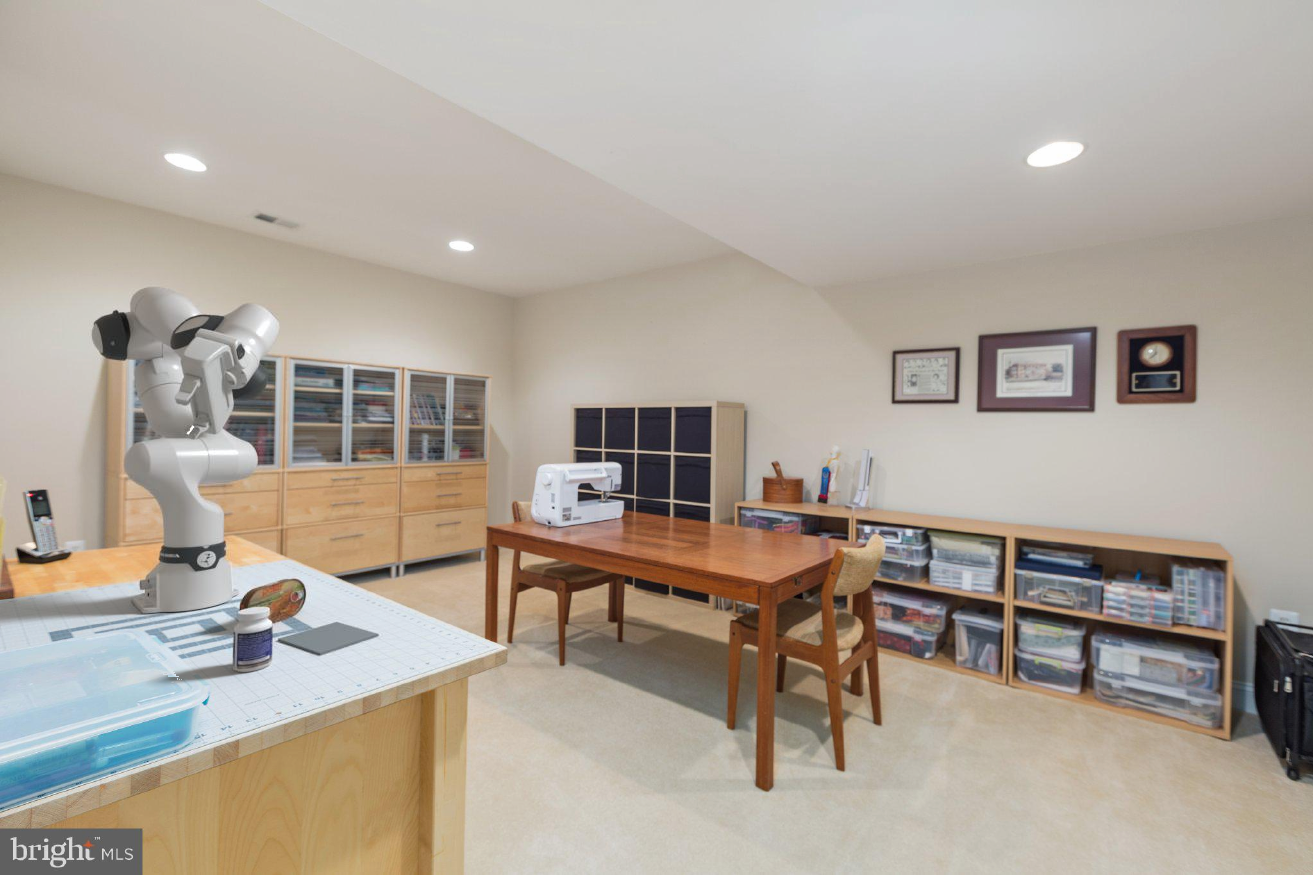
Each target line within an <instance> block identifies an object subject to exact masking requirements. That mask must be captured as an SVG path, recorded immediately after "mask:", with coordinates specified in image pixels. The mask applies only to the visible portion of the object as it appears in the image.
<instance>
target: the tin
mask: <svg viewBox="0 0 1313 875" xmlns="http://www.w3.org/2000/svg"><path fill="white" fill-rule="evenodd" d="M306 598H307V590H306V586H305V584H304V582H303V581H301V580H300V579H298V578H283V579H280V580H277V581H274V582H270V583H267V584H264V585H261V586H258V587H254V588H252V589H250V590H248V591H247V592H246V593H245V594H244V596H243V597H242V598H241V600H240V602H239V607H238V608H239V610H238V612H239V611H241V610H243V609H247V608H253V607H268V608H270V615H269V616H268V619H269V620H271V621H272V623H273V625H274V624H277V623H279V622H282V621H284V620H287V619H289V617H290V618H291V617H294V616H296V615H297V614H298V613H299V612H300V611H301V610H302V609H303V607H304V605H305V602H306ZM276 622H277V623H276Z"/></svg>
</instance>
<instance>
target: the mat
mask: <svg viewBox="0 0 1313 875" xmlns="http://www.w3.org/2000/svg"><path fill="white" fill-rule="evenodd" d="M376 637H379V633H376V632H373V631H369V630H367V629H364V628H359V627H356V626H352V625H349V624H347V623H342V622H339V621H335V622H331V623H327V624H324V625H321V626H317V627H314V628H311V629H307V630H303V631H300V632H296V633H293V634H289V635H286V636H283V637H280V638H277V641H278V642H280V643H282V644H283V643H284V644H287V645H289V646H292V647H296V648H299V649H301V650H304V651H307V652H309V653H313V654H316V655H319V656H323V655H325V654H328V653H332V652H334V651H335V652H336V651H337V649H338V650H340V649H343V648H346V647H347V648H348V647H349V645H350V646H353V645H356V644H359V643H361V642H364V641H367V640H370V639H374V638H376Z"/></svg>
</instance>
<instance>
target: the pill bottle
mask: <svg viewBox="0 0 1313 875" xmlns="http://www.w3.org/2000/svg"><path fill="white" fill-rule="evenodd" d="M236 613H237V615H236V619H237V620H238V623H237V624H236V625H234V628H233V633H232V635H233V636H232V637H233V638H232V670H233V671H235V672H238V673H248V672H249V673H251V672H255V671H260V670H262V669H265V668H267V667H268V666H269V665H271V664H272V661H273V638H274V635H273V632H274V631H273V630H274V627H273V625H274V624H273V623H272V621H271V620H269V619H268V616H269V615H270V608H268V607H253V608H247V609H243V610H241V611H239V610H238V611H237V612H236Z"/></svg>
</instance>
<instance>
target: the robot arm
mask: <svg viewBox="0 0 1313 875" xmlns="http://www.w3.org/2000/svg"><path fill="white" fill-rule="evenodd" d="M129 305H130V306H129V307H130V310H129V311H127V312H124V311H120V312H119V311H118V309H115V310H113V311H112V313H109V314H105V315H102V316H100V317H99V318H97V319H95V321H94V322H93V326H92V330H91V340H92V342H93V345H94V346H95V348H96V350H98V352H99V354H100V355H101V356H102V357H104V358H105V359H108V360H112V361H113V360H114V361H123V362H126V360H127V361H129V360H131V361H140V362H139V363H138V364H137V365H136V366H135V368H134V371H133V372H134V373H133V374H134V385H135V390H136V394H137V398H138V401H139V403H140V406H141V408H142V411H143V414H144V415H145V418H146V421H147V423H148V426H149V428H150V429H151V430H152V432H154V433H156V434H157V435H159V436H160V437H162V438H156V439H155V438H154V439H149V440H142V441H137V442H135V443H134V444H133V445H132V446H131V447H130V448H129V449H128V450H127V451H126V453H125V456H124V459H123V467H124V472H125V473H126V475H127V477H128V478H129V479H130V480H131V481H132V482H134V483H135V484H136V485H138V486H140V487H142V488H143V489H145V490H146V491H148V492H149V493H150V495H152V497H153V498H154V499H155V500H156V502H157V503H158V506H159V507H160V510H161V514H162V523H163V524H162V525H163V545H161V546H160V547H161V548H160V551H159V553H158V554H159V556H158V561H159V562H158V564H156V565H155V566H154V567H153V568H152V570H151V571H149V573H147V574H146V576H145V579H141V580H139V590H140V591H144V592H143V593H140V594H136V595H134V596H131V602H132V603H133V605H135V607H136V608H137V609H138V610H139V611H140V612H141V613H142V614H153V613H168V612H169V613H172V612H185V611H193V610H200V609H206V608H211V607H214V606H218V605H222V604H223V603H226V602H229V601H230V600H231V599H232V598H233V597H235V596H237V595H239V594H240V592H239V589H236V588H234V582H233V566H232V562H230V561H229V560H227V559H226V558H225V556H226V555H227V544H226V543H227V542H226V540H225V539H224V538H225V537H224V536H225V512H224V510H223V508H222V507H221V506H220V505H219V504H218V503H217V502H214V501H212V500H208V499H206V498H204V497H202V496H201V494H200V492H199V491H200V490H199V485H211V484H212V485H213V484H226V483H227V484H228V483H232V482H236V481H240V480H244V479H247V478H250V477H251V476H252V475H253V474H254V473H255V471H256V469H257V467H258V465H259V464H258V463H259V462H258V461H259V458H258V457H259V456H258V454H257V451H256V449H255V447H254V446H253V445H252V444H251V443H250V442H248V441H246V440H243V439H241V438H239V437H237V436H235V435H233V434H232V433H230V432H229V431H227V430H226V429H224V426H225V425H226V423H227V421H228V420H229V418H230V416H231V414H232V412H233V410H234V404H235V402H247V401H250V400H253V399H255V398H256V397H259V396H260V395H261V394H263V392H264V391H265V390H266V388H267V384H268V380H269V370H268V369H267V368H266V367H265V366H264V365H263V364H261V363H260V362H261V360H262V359H264V358H265V357H266V356H267V355H268V354H269V352H270V351H271V349H272V348H273V346H274V345H275V342H276V341H277V339H278V336H279V334H280V329H281V328H280V327H281V326H280V322H279V320H278V319H277V318H276V317H275V315H274V314H273V313H272V312H271V311H270V310H268V309H267V308H265V307H264V306H262V305H259V304H257V303H253V302H248V303H247V302H246V303H243V304H242V305H240V306H239V307H237V308H236V309H234V310H232V311H231V312H229V313H227V314H225V315H220V314H219V315H218V314H202V312H201V311H200V309H199V308H198V307H197V306H196V305H195V303H194V302H192V300H190V299H189V298H187V297H186V296H184V295H183V294H182V293H179V292H177V291H175V290H173V289H169V288H165V287H160V286H159V287H158V286H149V287H148V286H147V287H144V288H141V289H139V290H137V291H136V292H135V293H134V294H133V295H132V297H131V299H130V303H129Z"/></svg>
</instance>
